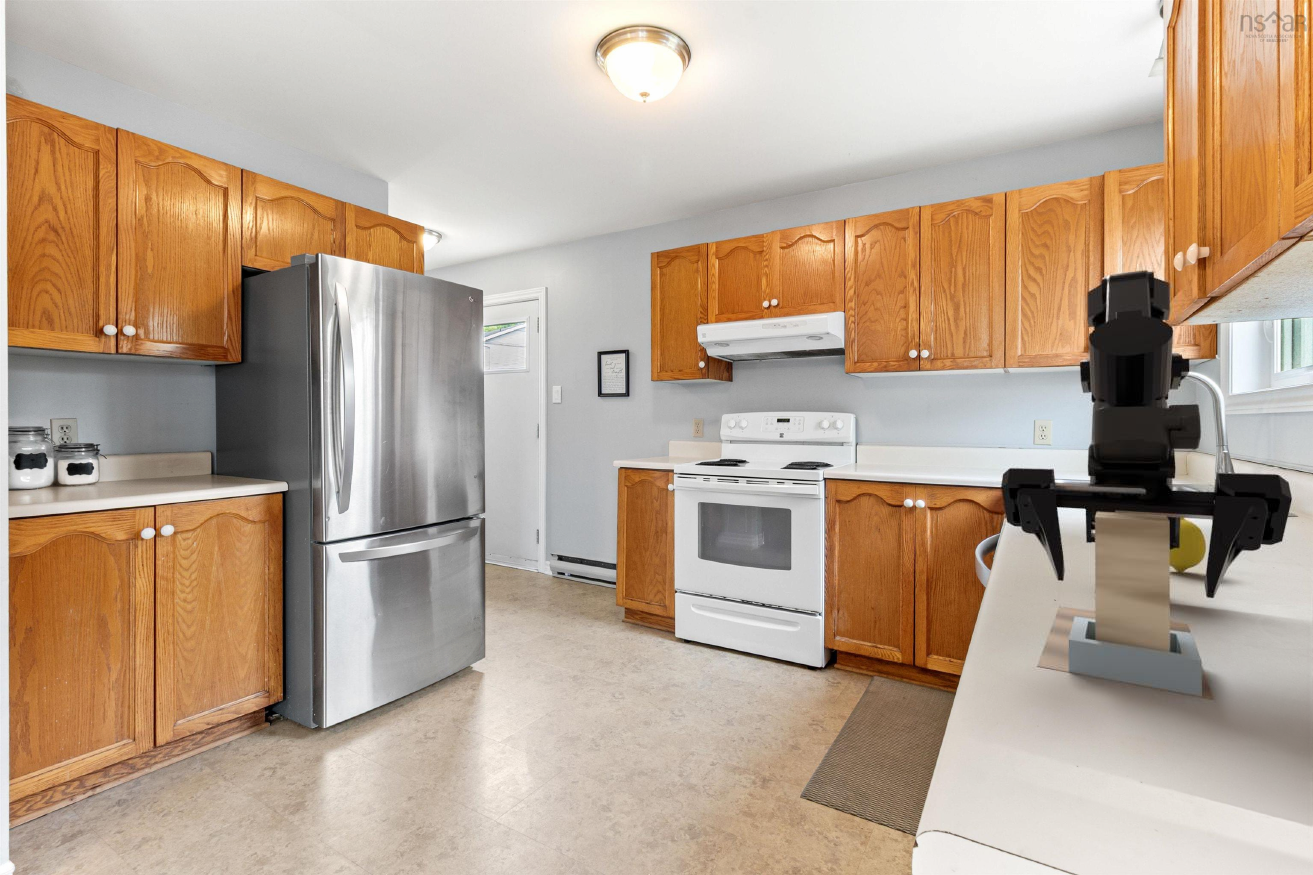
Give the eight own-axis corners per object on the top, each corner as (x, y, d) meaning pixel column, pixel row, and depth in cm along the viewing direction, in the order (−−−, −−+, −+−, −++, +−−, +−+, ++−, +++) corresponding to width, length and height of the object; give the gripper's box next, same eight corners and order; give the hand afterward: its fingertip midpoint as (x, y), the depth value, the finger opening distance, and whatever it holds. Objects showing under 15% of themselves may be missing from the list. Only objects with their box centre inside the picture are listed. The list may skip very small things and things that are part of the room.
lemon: (1155, 566, 92) (1155, 513, 92) (1205, 571, 89) (1204, 516, 89) (1154, 573, 88) (1154, 516, 88) (1207, 578, 85) (1206, 520, 85)
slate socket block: (1074, 644, 54) (1074, 616, 54) (1191, 664, 50) (1191, 633, 50) (1068, 671, 48) (1068, 639, 48) (1201, 696, 43) (1201, 660, 44)
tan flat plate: (1059, 615, 67) (1059, 606, 67) (1187, 633, 61) (1187, 623, 61) (1037, 678, 49) (1037, 665, 49) (1213, 713, 43) (1213, 699, 43)
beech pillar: (1097, 653, 52) (1096, 511, 52) (1166, 665, 49) (1165, 515, 49) (1095, 669, 49) (1095, 516, 49) (1170, 683, 46) (1169, 521, 46)
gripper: (1003, 381, 58) (982, 510, 49) (1286, 367, 47) (1324, 531, 38) (1015, 463, 64) (999, 590, 55) (1266, 467, 53) (1296, 629, 44)
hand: (1131, 585), depth 48 cm, fingers open, 9 cm apart
